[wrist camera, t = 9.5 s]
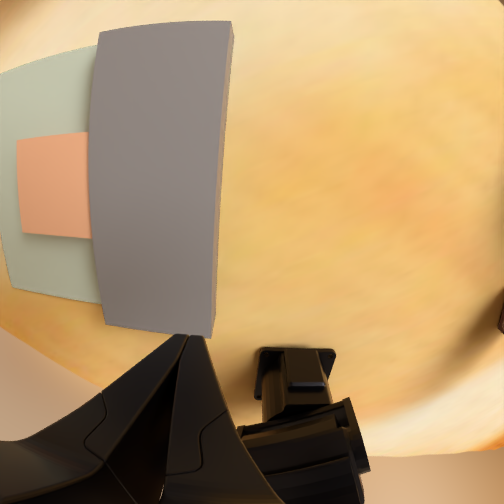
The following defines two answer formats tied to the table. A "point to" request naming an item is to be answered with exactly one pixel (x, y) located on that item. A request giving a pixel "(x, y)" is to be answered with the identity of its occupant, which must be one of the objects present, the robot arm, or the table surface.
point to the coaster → (54, 185)
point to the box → (501, 323)
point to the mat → (5, 171)
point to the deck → (158, 172)
